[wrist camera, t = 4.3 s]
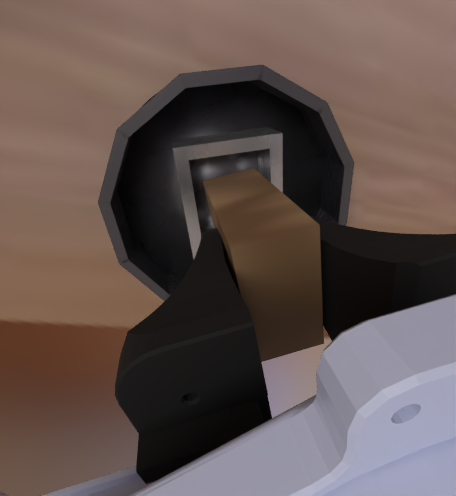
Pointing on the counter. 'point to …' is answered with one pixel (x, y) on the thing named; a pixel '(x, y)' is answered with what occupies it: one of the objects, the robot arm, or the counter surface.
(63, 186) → the counter surface
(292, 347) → the wooden block
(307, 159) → the bowl
